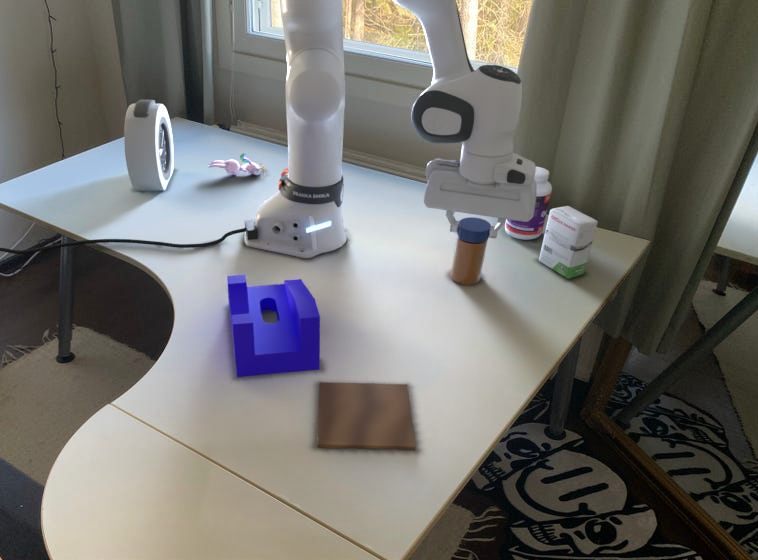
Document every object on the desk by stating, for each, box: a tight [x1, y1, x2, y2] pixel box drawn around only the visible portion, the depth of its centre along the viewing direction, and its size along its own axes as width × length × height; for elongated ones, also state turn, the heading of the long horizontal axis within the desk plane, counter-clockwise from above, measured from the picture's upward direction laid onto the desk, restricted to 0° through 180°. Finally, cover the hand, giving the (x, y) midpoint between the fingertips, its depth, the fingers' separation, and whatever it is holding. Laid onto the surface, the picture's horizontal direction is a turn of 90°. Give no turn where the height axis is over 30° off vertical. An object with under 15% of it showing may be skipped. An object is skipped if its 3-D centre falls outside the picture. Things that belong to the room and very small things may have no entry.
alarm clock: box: [123, 99, 175, 192], centre depth 167 cm, size 21×8×20 cm, turn 179°
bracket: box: [226, 274, 321, 378], centre depth 114 cm, size 21×14×10 cm, turn 9°
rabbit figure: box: [207, 153, 267, 176], centre depth 174 cm, size 6×6×15 cm
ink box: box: [538, 205, 599, 280], centre depth 133 cm, size 9×5×12 cm, turn 26°
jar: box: [450, 235, 489, 286], centre depth 130 cm, size 6×6×11 cm
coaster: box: [316, 381, 416, 451], centre depth 101 cm, size 14×14×1 cm
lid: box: [456, 217, 492, 243], centre depth 127 cm, size 6×6×2 cm
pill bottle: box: [504, 166, 553, 241], centre depth 144 cm, size 8×8×14 cm
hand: (473, 233), depth 128 cm, fingers closed on lid, 6 cm apart
